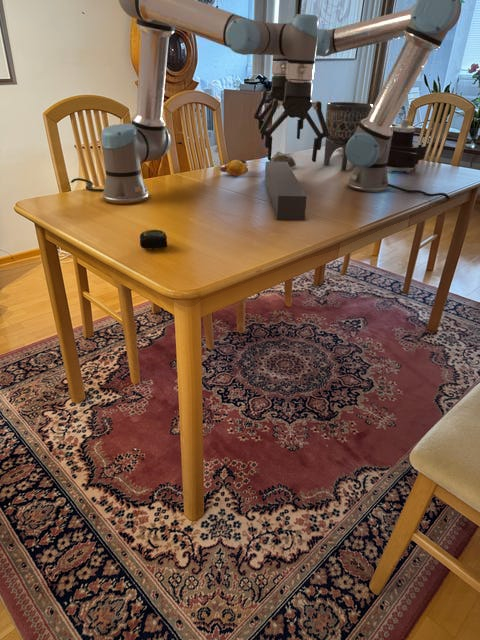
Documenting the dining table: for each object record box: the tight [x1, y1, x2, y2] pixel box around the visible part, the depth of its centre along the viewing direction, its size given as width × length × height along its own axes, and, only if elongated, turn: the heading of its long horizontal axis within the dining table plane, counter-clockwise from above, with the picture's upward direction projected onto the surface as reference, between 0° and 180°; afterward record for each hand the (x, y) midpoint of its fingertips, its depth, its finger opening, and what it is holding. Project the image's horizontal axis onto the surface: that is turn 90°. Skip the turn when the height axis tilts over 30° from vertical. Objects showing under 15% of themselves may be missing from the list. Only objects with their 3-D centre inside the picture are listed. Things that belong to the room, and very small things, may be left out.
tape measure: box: [139, 229, 168, 250], centre depth 117 cm, size 7×7×4 cm
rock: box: [268, 151, 297, 168], centre depth 203 cm, size 13×9×6 cm, turn 131°
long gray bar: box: [264, 160, 308, 221], centre depth 161 cm, size 52×9×7 cm, turn 1°
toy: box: [219, 159, 249, 177], centre depth 192 cm, size 11×6×15 cm
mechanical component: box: [386, 119, 428, 174], centre depth 205 cm, size 22×21×30 cm
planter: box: [323, 101, 373, 172], centre depth 204 cm, size 20×20×26 cm
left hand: (291, 160), depth 137 cm, fingers open, 13 cm apart
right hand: (280, 138), depth 172 cm, fingers open, 13 cm apart
